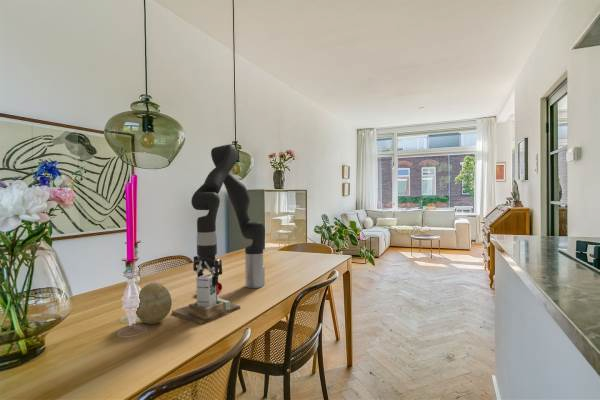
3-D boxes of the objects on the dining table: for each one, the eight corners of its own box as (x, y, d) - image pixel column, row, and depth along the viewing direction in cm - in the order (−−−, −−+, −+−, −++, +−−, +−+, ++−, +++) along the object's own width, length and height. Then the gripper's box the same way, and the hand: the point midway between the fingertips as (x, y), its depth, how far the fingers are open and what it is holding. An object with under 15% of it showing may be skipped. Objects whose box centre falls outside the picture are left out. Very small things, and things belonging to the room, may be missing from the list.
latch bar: (213, 304, 140) (213, 296, 140) (230, 308, 135) (230, 301, 134) (209, 305, 138) (209, 298, 138) (225, 310, 133) (225, 302, 132)
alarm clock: (192, 290, 154) (204, 275, 168) (193, 302, 155) (206, 286, 170) (214, 290, 153) (224, 275, 167) (215, 302, 154) (225, 286, 169)
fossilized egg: (177, 322, 124) (177, 282, 124) (142, 332, 116) (141, 289, 115) (163, 313, 134) (163, 276, 133) (129, 322, 125) (129, 282, 124)
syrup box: (210, 315, 128) (209, 277, 128) (196, 314, 130) (196, 277, 129) (217, 310, 134) (217, 274, 133) (204, 309, 135) (203, 273, 135)
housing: (211, 300, 149) (211, 289, 149) (240, 308, 139) (240, 297, 139) (171, 313, 133) (171, 302, 133) (201, 324, 123) (200, 311, 123)
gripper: (187, 242, 131) (188, 283, 132) (211, 246, 123) (212, 289, 124) (202, 240, 138) (203, 279, 138) (226, 243, 129) (227, 284, 130)
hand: (207, 284), depth 131 cm, fingers open, 8 cm apart
